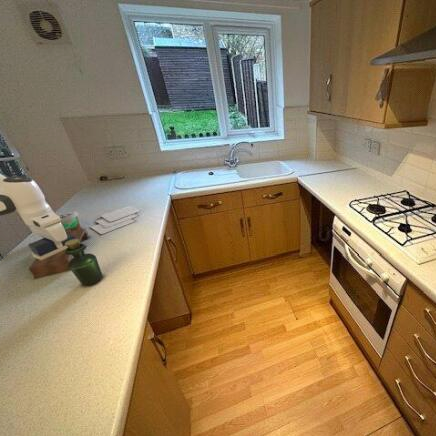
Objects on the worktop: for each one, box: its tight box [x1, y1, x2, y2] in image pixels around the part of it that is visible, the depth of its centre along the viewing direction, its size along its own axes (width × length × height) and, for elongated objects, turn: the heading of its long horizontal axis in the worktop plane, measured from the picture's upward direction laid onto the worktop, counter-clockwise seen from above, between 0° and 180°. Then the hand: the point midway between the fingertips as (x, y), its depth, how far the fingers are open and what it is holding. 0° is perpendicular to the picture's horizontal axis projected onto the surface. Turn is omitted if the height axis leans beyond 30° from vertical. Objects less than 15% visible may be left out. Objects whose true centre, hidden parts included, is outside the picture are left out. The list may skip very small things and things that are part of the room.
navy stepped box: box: [27, 233, 81, 260], centre depth 101 cm, size 14×6×6 cm, turn 156°
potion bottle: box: [65, 239, 104, 287], centre depth 88 cm, size 8×8×18 cm
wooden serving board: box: [28, 228, 90, 279], centre depth 106 cm, size 12×28×5 cm, turn 26°
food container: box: [58, 210, 82, 232], centre depth 122 cm, size 12×6×10 cm, turn 129°
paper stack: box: [90, 205, 141, 235], centre depth 137 cm, size 23×25×1 cm
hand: (55, 245), depth 102 cm, fingers closed on navy stepped box, 5 cm apart
